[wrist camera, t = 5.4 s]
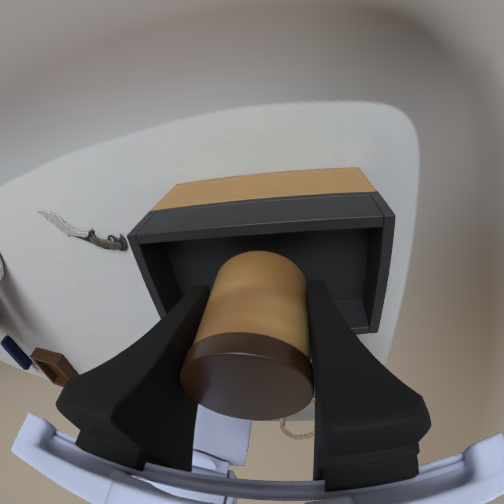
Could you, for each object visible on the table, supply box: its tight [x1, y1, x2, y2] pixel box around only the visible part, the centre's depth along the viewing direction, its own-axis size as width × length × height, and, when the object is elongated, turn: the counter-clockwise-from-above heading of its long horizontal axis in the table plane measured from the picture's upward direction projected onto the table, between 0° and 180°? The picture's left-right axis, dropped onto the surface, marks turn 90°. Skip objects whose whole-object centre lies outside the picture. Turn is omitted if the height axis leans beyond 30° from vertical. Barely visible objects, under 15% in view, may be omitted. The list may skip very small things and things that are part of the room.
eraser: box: [1, 336, 32, 370], centre depth 35 cm, size 2×2×7 cm
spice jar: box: [180, 251, 314, 420], centre depth 10 cm, size 4×4×5 cm
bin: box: [127, 168, 395, 335], centre depth 15 cm, size 11×6×7 cm, turn 98°
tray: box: [30, 348, 79, 387], centre depth 33 cm, size 7×7×2 cm
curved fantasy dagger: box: [35, 209, 126, 251], centre depth 20 cm, size 10×2×1 cm, turn 76°
